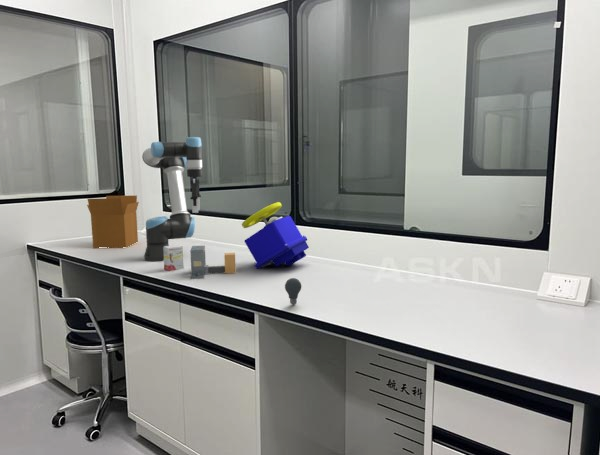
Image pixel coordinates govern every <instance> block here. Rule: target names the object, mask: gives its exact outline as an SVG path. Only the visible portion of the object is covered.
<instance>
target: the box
mask: <svg viewBox="0 0 600 455" xmlns="http://www.w3.org/2000/svg"><path fill="white" fill-rule="evenodd" d="M137 199H138V195H106V196H105V197H104V198H87V203H88V204H86V206H87V208H88V211H89V213H90V222H91V225H90V226H91V236H92V248H93V249H100V248H99V247H107V248H106V249H124V248H123V247H127V248H129V247H131V246H133V245H132V244H134V243H136V242H138V243H139V237H138V236H139V234H138V233H139V232H138V219H137V218H138V217H137V209H138V206H139V204H140V202H139V201H138V200H137ZM136 244H137V243H136ZM130 245H131V246H130ZM134 245H135V244H134ZM128 246H129V247H128ZM108 247H109V248H108Z"/></svg>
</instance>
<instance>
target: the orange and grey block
mask: <svg viewBox="0 0 600 455" xmlns="http://www.w3.org/2000/svg"><path fill="white" fill-rule="evenodd" d="M223 257H224V265H211V266H210V265H209V264H206V265H204V266H205V275H209V274H236V252H224V256H223Z"/></svg>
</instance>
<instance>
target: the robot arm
mask: <svg viewBox="0 0 600 455" xmlns="http://www.w3.org/2000/svg"><path fill="white" fill-rule="evenodd" d="M202 146H203V144H202V138H201V137H199V136H198V137H197V136H187V137H186V138H185V141H183V142H181V141H179V142H178V141H176V142H175V141H174V142H173V141H170V142H169V141H154V142H152V143H151V144H150V147H149V148H147V149H145V150H144V151H143V153H142V156H141V157H142V161H143V162H144V164H146V166H148V167H150V168H154V169H163V172H164V173H165V174H166V176H167V177H166V178H167V184H168V192H169V198H170V199H169V200H170V207H171V214H170V215H169V218H168V216H166V215H165V216H164V215H163V216H162V215H161V216H154V217H151V218H149V219H147V220H146V221H145V235H146V238H145V239H146V247H145V251H144V254H143V255H144V256H143V257H144V258H143V259H144V261H146V262H147V261H148V262H164V250H163V247H164V246H170V245H169V240H176V239H188V238H192V237H193V236H194V233H195V229H196V221H195V217H193V216H191V213H190V212H189V211H188V206H187V200H186V199H187V198H186V193H185V186H184V178H183V172H184V171H185V169H186V168H187V169H186V176H187V177H188V178H190V177H191V180H190V184H191V186H190V187H191V196H190V200H191V207H192V208H191V209H192V210H191V211H192V214H193V213H195V214H197V213H198V214H199V211H200V210H201V207H200V206H201V201H200V200H201V197H202V195H201V194H200V178H201V177H203V176H204V175H203V154H202V153H203V152H202V149H203V148H202Z"/></svg>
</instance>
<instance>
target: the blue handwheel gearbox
mask: <svg viewBox="0 0 600 455" xmlns="http://www.w3.org/2000/svg"><path fill="white" fill-rule="evenodd" d="M282 206H283V205H282V203H281V202H280V201H277V202H275V203H272V204H270V205H268V206H265V207H263V208H262V209H259V210H258V211H257V212H255V213H254V214H252V215H250V216H249V217H247V218H246V219H245V220H244V221H243V222H241V225H242V228H243V229H247V228H250V227H252V226H255V225H257V224H259V223H260V222H262V221H263V223H264V224H265V225H264V226H263V227H262V228H261V229H259V230H258V231H256V232H255V233H253V234H252V235H250V236H249V237H247V238H246V239H244V244H245V245H246V246H247V249H248V251H249V252H250V254H251V255H252V257H253V260H255V263H254V264H253V265H254V268H256V269H257V270H258V269H260V268H262V267H263V266H266V265H268V264H269V263H273V265H274V266H275V267H278V266H280V265H282V264H284V265H285V266H286V267H289V266H291V265H294V263H297V262H298V261H300V260H302V259H303V258H305V257H307V254H306V253H305V251H306V250H307V249H309V245H308V243H307V241H308V238H307V236H305V235H302V234H301V232H300V230H299V228H298V227H297V225H296V223H295V221H294V220H293V218H292V217H291V215H288V216H287V215H286V216H285V217H283V216H280V217H277V216H272V215H274V214H275V213H277V212H278V211H279V210H280V209H281V208H282ZM271 216H272V217H271ZM269 217H270V218H269ZM268 218H269V220H268V221H267V219H268Z"/></svg>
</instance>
